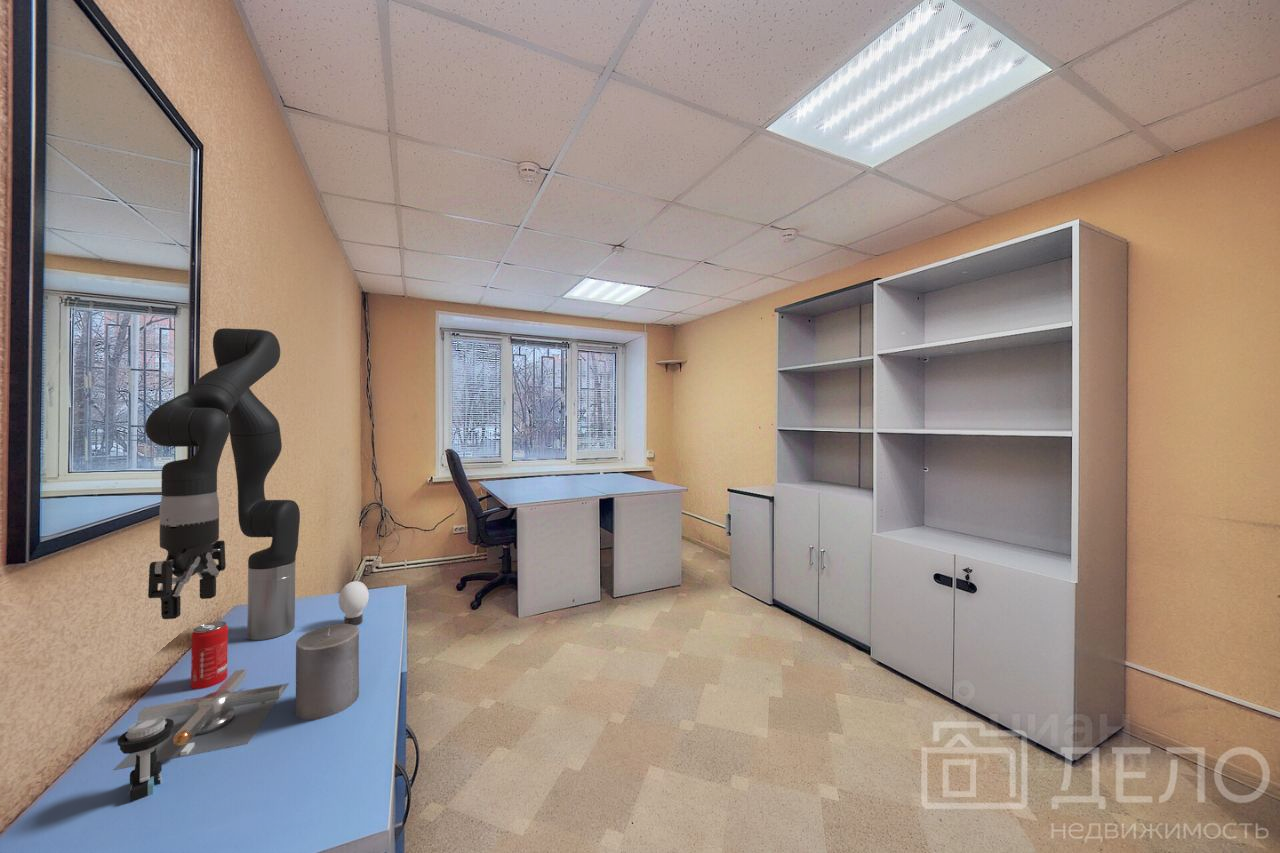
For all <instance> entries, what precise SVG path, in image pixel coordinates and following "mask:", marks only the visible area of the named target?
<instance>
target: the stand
mask: <svg viewBox="0 0 1280 853" xmlns="http://www.w3.org/2000/svg"><path fill="white" fill-rule="evenodd" d="M289 684H290V682H288V683H287V682H286V683H281V684H276V685H275V684H274V685H269V686H263V687H257V688H249V689H245V690H244V689H243V690H237V691H233V692H232V693H237V692H243V691H250V690H256V689H262V688H268V687H275V686H281V685H283V693H284V692H285V691H286V689H287V687H288V686H289ZM202 697H203V696H201V697H200V696H199V697H194V698H188V699H184V700H183V701H187V700H194V699H200V698H202ZM278 701H279V699H276V700H270V701H264V702H258V703H252V704H246V705H240V706H234V707H231V708H233V709H234V710H235V714H234V719H233V720H232V721H231V722H230V723H229V724H228V725H226V726H225V727H223V728H221V729H219V730H216V731H214V732H211V733H208V734H204V735H199V736H194V737H193V738H192V739H191V740H190V741H189V742H188V743H186V744H184V745H181V746H176V745H175V746H174V743H173V739H174V737H175V734H176V733H177V732H178V731H179V730H180V729H181V728H182V727H183V726H184V725H185V724H186V723H187V722H188V720H189V719H190V718H191V717H192V716H193V715H194V714H195V713H193V714H187V715H181V716H175V717H169V718H165V719H171V720H173V722H174V725H173V727H172V729H171V735H170V736H169V737H168V738H167V739H166V740H164V741H163V742H162V743H161V744H159V745H158V746H156V747H155V748H156V755H157V762H158V761H161V762H163V761H167V760H172V759H177V758H178V759H179V758H183V757H188V756H194V755H199V754H203V753H209V752H214V751H218V750H219V751H220V750H224V749H225V750H226V749H229V748H234V747H239V746H243V745H244V746H245V745H248V744H249V742H250V741H251V739H252V738H253V737H254V735H255V734H256V732H257V731H258V729H259V728H260V727H261V725H262V723H263V722H264V721H265V719H266V718H267V717H268V715H269V714H270V712H271V710H272V709H273V707H275V705H276V703H277V702H278ZM136 755H137V754H127V755H126V757H125V758H124V759H123V760H122V761H120V762H119V764H118V765H116V766H115V767H114V768H113V771H116V770H120V769H121V770H122V769H127V768H132V767H135V765H136Z"/></svg>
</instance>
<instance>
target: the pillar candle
mask: <svg viewBox="0 0 1280 853" xmlns="http://www.w3.org/2000/svg"><path fill="white" fill-rule="evenodd" d="M359 631H360V630H359V627H358V626H357V625H351V624H344V623H337V624H332V625H331V624H329V625H326V626H322V627H318V628H316V629H315V628H314V629H312V630H310V631H308V632H306V633H304V634H303V635H301V636H300V637H299V638H298V639H297V640H296V643H295V715H296V717H297V718H299V719H301V720H304V721H305V720H306V721H307V720H308V721H309V720H310V721H311V720H313V721H314V720H315V721H316V720H320V719H325V718H328V717H331V716H334V715H336V714H339V713H341V712H343V711H346V710H347V709H348V708H349V707H351V706H352V705H353V704H354V703H356V702H357V700H358V698H359V694H360V666H359V665H360V661H359V660H360V649H359V648H360V647H359V646H360V645H359V642H360V635H359V634H360V632H359Z"/></svg>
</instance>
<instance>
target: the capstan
mask: <svg viewBox="0 0 1280 853" xmlns="http://www.w3.org/2000/svg"><path fill="white" fill-rule="evenodd" d="M246 671H247V670H246V669H239V670H235V671H233V673H232V674H230V675H229V677H227V678H226V679H225V680H224V681H223V682H224V683H223V682H222V684H221V685H220V686H219V688H218V689H216V690H215V691H213V692H211V693H208V694H206V695H204V696H201V697H202V698H200V699H194V700H187V701H184V700H182V701H176V702H170V703H165V704H158V705H153V706H152V705H151V706H150V705H149V706H145V707H143V708H142V709H141V710H140V711H138V714H137V722H139V721H141V720H143V719H146V718H150V717H155V716H164V718H165V719H166V718H169V717H175V716H181V715H187V714H193V713H195V714H194V715H193V716H192V717H191V718H190V719H189V720H188V722H187V723H186V724H185V725H184V726H183V727H182V728H181V729H180V730H179V731H178V732H177V733H176V734H175V737H174V739H173V743H174V746H175V745H176V746H181V745H184V744H186V743H188V742H189V741H190V740H191V739H192V738H193V737H194V736H199V735H204V734H208V733H211V732H214V731H216V730H219V729H221V728H223V727H225V726H226V725H228V724H229V723H230V722H231V721H232V720H233V719H234V714H235V710H234V709H233V708H231V707H234V706H240V705H246V704H252V703H258V702H264V701H270V700H276V699H278V700H279V699H281V697H282V696H283V693H284V692H283V685H281V686H275V687H268V686H267V687H268V688H262V689H256V690H250V691H243V690H242V691H243V692H237V693H232V692H235V690H236V689H237V688H238V687H239V686H240V684H242V682H243V681H244V680H245V679H246V673H247V672H246Z"/></svg>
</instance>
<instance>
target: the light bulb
mask: <svg viewBox="0 0 1280 853" xmlns="http://www.w3.org/2000/svg"><path fill="white" fill-rule="evenodd" d="M369 598H370V594H369V589H368V587H367V586H366V584H365V583H363V582H361V581H360V580H359V581H357V580H355V581H354V580H353V581H351V582H349V583H347V584H346V585H345V586H344V587H343V588H342V589H341V591H340V593H339V597H338V607H339V609H340V610H341V612H342V613H343V614H344V617H343V624H351V625H355V626H357V625H361V624H362V623H363V615H364V614H363V613H364V612H363V611H364V610H365V608H366V607H367V605H368V602H369Z"/></svg>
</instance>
